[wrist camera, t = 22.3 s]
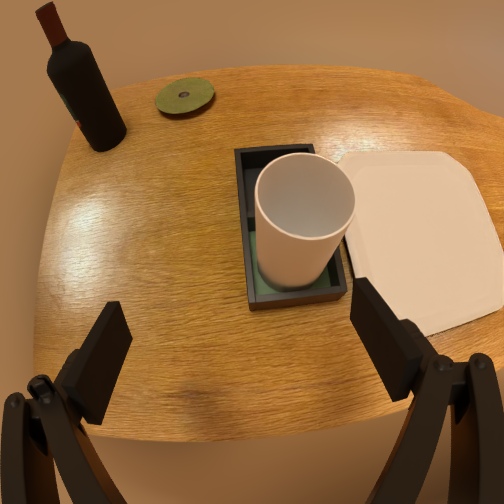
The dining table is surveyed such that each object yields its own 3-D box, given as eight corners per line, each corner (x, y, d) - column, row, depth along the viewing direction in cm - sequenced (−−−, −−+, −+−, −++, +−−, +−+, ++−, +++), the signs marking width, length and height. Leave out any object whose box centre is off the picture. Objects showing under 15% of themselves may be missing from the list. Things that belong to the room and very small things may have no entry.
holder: (249, 311, 36) (248, 303, 32) (236, 168, 44) (234, 148, 40) (337, 300, 36) (347, 291, 32) (308, 162, 44) (312, 143, 40)
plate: (365, 353, 34) (371, 352, 32) (317, 161, 44) (319, 152, 42) (510, 304, 34) (518, 301, 32) (455, 158, 45) (460, 151, 43)
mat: (218, 83, 53) (217, 75, 51) (210, 119, 49) (209, 111, 47) (165, 87, 53) (163, 80, 51) (151, 122, 49) (148, 115, 47)
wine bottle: (113, 154, 47) (39, 14, 19) (84, 150, 48) (11, 27, 20) (133, 124, 49) (78, -12, 21) (104, 121, 50) (47, 0, 22)
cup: (243, 261, 38) (232, 190, 23) (288, 221, 40) (302, 138, 25) (290, 307, 35) (311, 262, 21) (334, 262, 37) (376, 195, 23)
